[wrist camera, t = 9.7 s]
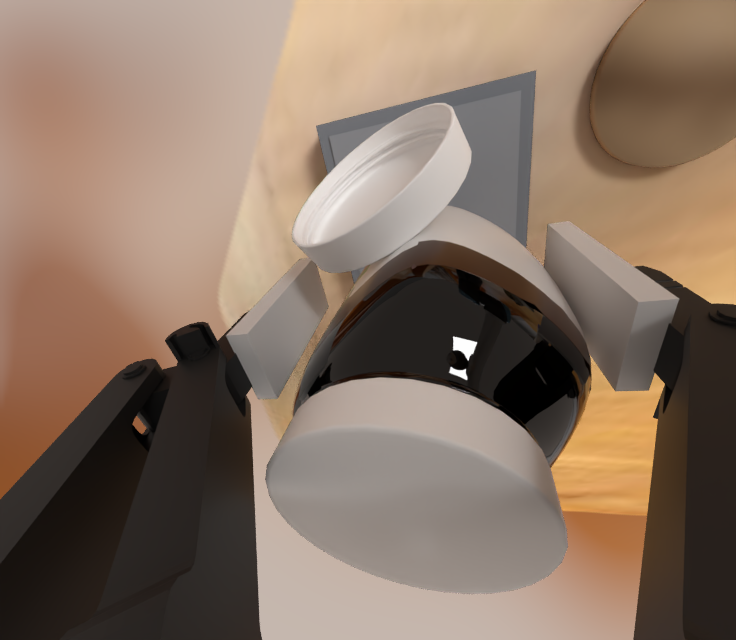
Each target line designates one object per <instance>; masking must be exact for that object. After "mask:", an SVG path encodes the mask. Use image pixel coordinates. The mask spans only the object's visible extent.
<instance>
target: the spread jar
mask: <svg viewBox="0 0 736 640" xmlns="http://www.w3.org/2000/svg"><path fill="white" fill-rule="evenodd" d="M471 153H472V151H471V149H470V146H469V144H468V142H467V140H466V137H465V135H464V133H463V130H462V128H461V126H460V124H459V121H458V119H457V117H456V115H455V112H454V110H453V108H452V106H450V105H448V104H446V103H434V104H429V105H425V106H423V107H420V108H417V109H415V110H412V111H411V112H409V113H407V114H405V115H403V116H401V117H399V118H397V119H396V120H394V121H392V122H391V123H389V124H387V125H386V126H384V127H383V128H382V129H380V130H379V131H377V132H376V133H374V134H373V135H372V136H370V137H369V138H368V139H366V140H365V141H364V142H363V143H361V144H360V145H359V146H358V147H357V148H355V149H354V150H353V151H352V152H351V153H349V154H348V155H347V156H346V157H345V158H344V159H343V160H342V161H341V162H340V163H339V164H338V165H337V166H336V167H335V168H334V169H333V170H332V171H331V172H330V173H329V174H328V175H327V176H326V177H325V178H324V179H323V180H322V182H321V183H320V184H319V185H318V186H317V187H316V189H315V190H314V191H313V193H312V194H311V195H310V196H309V198H308V199H307V201H306V202H305V204H304V205H303V207H302V208H301V210H300V212H299V214H298V216H297V217H296V220H295V223H294V225H293V229H292V239H293V242H294V243H295V244H296V245H297V246H298V247H299V248H300V249H301V250H302V251H303V252H304V253H305V254H306V255H307V256H308V257H309V258H310V259H311V260H312V261H313V262H314V263H315V264H316V265H317V266H318V267H319V268H320V269H321V270H324V271H326V272H329V273H344V272H349V271H353V270H357V269H360V268H362V267H365V268H364V269H363V271H362V273H361V274H360V276H359V277H358V279H357V281H356V282H355V284H354V285H353V287H352V289H351V290H350V292H349V294H348V295H347V297H346V299H345V300H344V302H343V304H342V305H341V307H340V309H339V310H338V312H337V313H336V315H335V317H334V318H333V320H332V321H331V323H330V325H329V326H328V328H327V329H326V331H325V333H324V334H323V336H322V338H321V340H320V341H319V343H318V345H317V347H316V348H315V350H314V352H313V354H312V356H311V358H310V360H309V362H308V364H307V366H306V368H305V370H304V372H303V375H302V377H301V379H300V382H299V384H298V387H297V390H296V393H295V398H294V403H293V410H292V415H293V419H292V420H291V422H290V424H289V426H288V428H287V430H286V431H285V433H284V435H283V437H282V439H281V441H280V442H279V444H278V446H277V448H276V450H275V452H274V453H273V455H272V457H271V459H270V461H269V463H268V464H267V470H266V479H265V480H266V484H267V488H268V492H269V496H270V498H271V500H272V502H273V503H274V505H275V507H276V509H277V510H278V512H279V513H280V514H281V515H282V517H283V518H284V519H285V520H286V521H287V523H288V524H289V525H291V527H293V528H294V529H295V530H296V531H297V532H298V533H299V534H300V535H301V536H303V537H304V538H305V539H307V540H308V541H309V542H311V543H312V544H314V545H315V546H316V547H318V548H319V549H321V550H323V551H324V552H326V553H328V554H329V555H331V556H333V557H334V558H336V559H339V560H340V561H343V562H345V563H347V564H349V565H351V566H353V567H355V568H357V569H360V570H362V571H365V572H367V573H370V574H372V575H375V576H378V577H381V578H384V579H387V580H390V581H393V582H396V583H400V584H405V585H409V586H413V587H418V588H421V589H427V590H434V591H440V592H449V593H462V594H489V593H490V594H491V593H498V592H506V591H512V590H516V589H520V588H523V587H526V586H530V585H533V584H535V583H536V582H538V581H540V580H542V579H544V578H546V577H548V576H549V575H550V574H551V573H552V572H553V571H554V570H555V569H556V568H557V567H558V566H559V565H560V564H561V563H562V560H563V558H564V556H565V553H566V551H567V548H568V543H567V529H566V525H565V521H564V517H563V514H562V510H561V506H560V502H559V499H558V495H557V491H556V487H555V484H554V480H553V476H552V472H551V467H552V466H553V464H554V463H555V461H556V460H557V459H558V457H559V456H560V455H561V453H562V452H563V451H564V449H565V447H566V446H567V444H568V442H569V440H570V439H571V437H572V435H573V433H574V431H575V430H576V428H577V426H578V424H579V422H580V420H581V418H582V415H583V412H584V410H585V407H586V403H587V400H588V397H589V394H590V391H591V359H590V355H589V351H588V347H587V344H586V341H585V338H584V334H583V331H582V329H581V327H580V325H579V323H578V321H577V319H576V317H575V315H574V313H573V312H572V310H571V308H570V306H569V305H568V303H567V301H566V299H565V298H564V296H563V294H562V293H561V291H560V289H559V288H558V286H557V284H556V283H555V281H554V280H553V279H552V277H551V276H550V274H549V273H548V272H547V271H546V269H545V268H544V267H543V266H542V264H541V263H540V262H539V261H538V260H537V259H536V258H535V257H534V256H533V255H532V254H531V253H530V252H529V251H528V250H527V249H526V248H525V247H524V246H523V245H522V244H521V243H520V242H519V241H517V240H516V239H515V238H514V237H512V236H511V235H510V234H509V233H507V232H506V231H504V230H503V229H501V228H500V227H498V226H497V225H495V224H493V223H492V222H490V221H488V220H486V219H484V218H482V217H480V216H478V215H476V214H474V213H471V212H469V211H466V210H464V209H461V208H457V207H453V206H447V205H448V203H449V202H450V201H451V199H452V198H453V197H454V196H455V194H456V193H457V191H458V190H459V188H460V186H461V185H462V183H463V181H464V180H465V178H466V175H467V172H468V170H469V167H470V164H471Z"/></svg>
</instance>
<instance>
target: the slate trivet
mask: <svg viewBox="0 0 736 640" xmlns="http://www.w3.org/2000/svg"><path fill="white" fill-rule="evenodd" d="M535 79H536V71H532V72H528V73H524V74H520V75H516V76H512V77H508V78H504V79H500V80H496V81H492V82H488V83H484V84H480V85H476V86H472V87H468V88H464V89H460V90H456V91H452V92H448V93H444V94H440V95H437V96H433V97H429V98H425V99H421V100H417V101H413V102H409V103H405V104H401V105H397V106H393V107H389V108H385V109H381V110H377V111H373V112H369V113H365V114H361V115H357V116H353V117H349V118H345V119H341V120H337V121H333V122H329V123H326V124H322V125H318V126H316V128H317V132H318V136H319V140H320V144H321V148H322V153H323V157H324V161H325V165H326V169H327V173H328V174H329V173H330V172H331V171H332V170H333V169H334V168H335V167H336V166H337V165H338V164H339V163H340V162H341V161H342V160H343V159H344V158H345V157H346V156H347V155H348V154H349V153H351V152H352V151H353V150H354V149H355V148H357V147H358V146H359V145H360V144H361V143H363V142H364V141H365V140H366V139H368V138H369V137H370V136H372V135H373V134H374V133H376V132H377V131H379V130H380V129H382V128H383V127H384V126H386V125H387V124H389V123H391V122H392V121H394V120H396V119H397V118H399V117H401V116H403V115H405V114H407V113H409V112H411V111H412V110H415V109H417V108H420V107H423V106H425V105H429V104H434V103H446V104H448V105H450V106H452V108H453V110H454V112H455V115H456V117H457V119H458V121H459V124H460V126H461V128H462V130H463V133H464V135H465V137H466V140H467V142H468V144H469V146H470V149H471V151H472V153H471V164H470V167H469V170H468V172H467V175H466V178H465V180H464V181H463V183H462V185H461V186H460V188H459V190H458V191H457V193H456V194H455V196H454V197H453V198H452V199H451V201H450V202H449V203H448V205H447V206H453V207H457V208H461V209H464V210H466V211H469V212H471V213H474V214H476V215H478V216H480V217H482V218H484V219H486V220H488V221H490V222H492V223H493V224H495V225H497V226H498V227H500V228H501V229H503V230H504V231H506V232H507V233H509V234H510V235H511V236H512V237H514V238H515V239H516V240H517V241H519V242H520V243H521V244H522V245H523V246H524V247H525V248H526V241H527V223H528V205H529V187H530V169H531V151H532V133H533V115H534V97H535ZM364 268H365V267H362V268H360V269H357V270H353V271H351V273H352V277H353V281H354V284H355V282H356V281H357V279H358V277H359V276H360V274H361V273H362V271H363V269H364Z"/></svg>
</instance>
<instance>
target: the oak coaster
mask: <svg viewBox="0 0 736 640" xmlns="http://www.w3.org/2000/svg"><path fill="white" fill-rule="evenodd" d="M590 120H591V125H592V129H593V132H594V134H595V137H596V139H597V140H598V142H599V144H600V145H601V146H602V148H603V149H604V150H605V151H606V152H607V153H608V154H610V155H611V156H612V157H614V158H616V159H618V160H620V161H622V162H625V163H628V164H632V165H637V166H643V167H668V166H674V165H678V164H683V163H686V162H689V161H692V160H695V159H697V158H699V157H702V156H704V155H706V154H708V153H710V152H712V151H714V150H716V149H718V148H720V147H721V146H723V145H724V144H726V143H727V142H729V141H730V140H732V139H734V138H735V137H736V0H645V1H644V2H643V3H642V4H641V5H640V6H639V7H638V8H637V9H636V10H635V11H634V12H633V13H632V14H631V15H630V17H629V18H628V19H627V20H626V21H625V23H624V24H623V25H622V27H621V28H620V29H619V30H618V32H617V33H616V35H615V37H614V38H613V40H612V41H611V43H610V44H609V46H608V48H607V50H606V52H605V54H604V56H603V57H602V60H601V62H600V64H599V67H598V69H597V72H596V75H595V78H594V82H593V85H592V91H591V96H590Z"/></svg>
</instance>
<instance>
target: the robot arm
mask: <svg viewBox="0 0 736 640" xmlns="http://www.w3.org/2000/svg"><path fill="white" fill-rule="evenodd" d="M544 268H545V269H546V271H547V272H548V273H549V274H550V276H551V277H552V279H553V280H554V281H555V283H556V284H557V286H558V288H559V289H560V291H561V293H562V294H563V296H564V298H565V299H566V301H567V303H568V305H569V306H570V308H571V310H572V312H573V313H574V315H575V317H576V319H577V321H578V323H579V325H580V327H581V329H582V331H583V334H584V338H585V341H586V344H587V347H588V351H589V354H590V355H591V357H592V358H593V360H594V361H595V363H596V364H597V365H598V367H599V368H600V370H601V371H602V373H603V374H604V376H605V377H606V378H607V380H608V381H609V383H610V384H611V386H612V387H613V389H614V390H615V391H645V390H649V388H650V385H651V382H652V379H653V376H654V373H656V374H657V375H658V376H659V378H660V379H661V380H662V381H663V382H664V383H665V386H664V388H663V391H662V394H661V397H660V399H659V402H658V405H657V408H656V410H655V413H654V416H653V418H656V419H658V424H657V433H656V442H655V451H654V460H653V469H652V478H651V487H650V496H649V505H648V514H647V523H646V533H645V541H644V550H643V559H642V568H641V578H640V586H639V595H638V604H637V613H636V622H635V631H634V640H736V305H733V304H711V303H709V302H708V301H706V300H705V299H703V298H702V297H700V296H698V295H697V294H695V293H694V292H692V291H691V290H689V289H687V288H686V287H683V285H681V284H680V283H678V282H677V281H673V279H672V278H670V277H669V276H667V275H666V274H664V273H663V272H661V271H658V270H655V269H652V268H648V267H645V266H636V267H634V266H632V265H631V264H629V263H628V262H626V261H625V260H624V259H622V258H621V257H619V256H618V255H616V254H615V253H614V252H612V251H611V250H609V249H608V248H607V247H605V246H604V245H602V244H601V243H599V242H598V241H597V240H595V239H594V238H592V237H591V236H590V235H588V234H587V233H585V232H584V231H582V230H581V229H580V228H578V227H577V226H575V225H574V224H572V223H571V222H570V221H565V222H558V223H551V224H548V226H547V238H546V249H545V261H544ZM328 307H329V306H328V303H327V299H326V296H325V292H324V289H323V286H322V282H321V279H320V276H319V272H318V269H317V266H316V264H315V263H314V262H313V261H312V260H311V259H310V258H304V259H299V260H298V261H297V262H296V263H295V264H294V265H293V266H292V268H291V269H290V270H289V271H288V272H287V273H286V274H285V275H284V276H283V277H282V278H281V279H280V280H279V281H278V282H277V283H276V284H275V285H274V286H273V287H272V288H271V289H270V290H269V291H268V292H267V293H266V294H265V295H264V297H263V298H262V299H261V300H260V301H259V302H258V303H257V304H256V305H255V306H254V307H253V308H252V309H251V310H250V311H248V312H247V313H245V314H244V315H243V316H242V317H241V318H240V319H239V320H238V321H237V323H235V324H234V325H233V326H232V328H230V329H229V330H228V331H227V332H226V333H225V334H224V335H223V336H222V337H221V338H220V339H219V340H218V341H217V340H216V338H215V336H214V334H213V332H212V330H211V328H210V326H209V325H208V323H205V322H197V323H194V324H189V325H187V326H184V327H182V328H180V329H178V330H176V331H175V332H173V333H172V334H170V336H168V337H167V338H166V340H165V342H166V343H167V345H168V346H169V348H170V349H171V351H172V353H173V354H174V356H175V357H176V359H177V361H178V363H177V366H175V367H171V368H167V369H163V370H162V368H161V367H160V365H159V364H158V362H157V361H156V360H155V359H146V360H142V361H137V362H134V363H133V364H130V365H128V366H127V367H126V368H125V369H123V370H122V371H120V372H119V373H118V374H117V375H116V376H115V377H114V378H113V379H112V380H111V381H110V382H109V383H108V384H107V385H106V386H105V387H104V389H103V390H102V391H101V392H100V393H99V394H98V395H97V396H96V397H95V398H94V399H93V400H92V401H91V403H90V404H89V405H88V406H87V407H86V408H85V409H84V410H83V411H82V412H81V413H80V415H79V416H77V418H76V419H75V420H74V421H73V422H72V423H71V424H70V425H69V426H68V427H67V429H65V430H64V432H63V433H62V434H61V435H60V436H59V437H58V438H57V439H56V440H55V441H54V443H52V445H51V446H50V447H49V448H48V449H47V450H46V451H45V452H44V453H43V454H42V456H40V458H39V459H38V460H37V461H36V462H35V463H34V464H33V465H32V466H31V467H30V468H29V469H28V470H27V471H26V473H25V474H24V475H23V476H22V477H21V478H20V479H19V480H18V481H17V482H16V483H15V485H13V487H12V488H11V489H10V490H9V491H8V492H7V493H6V494H5V495H4V496H3V497H2V499H0V640H262V637H261V632H260V623H259V603H258V602H259V601H258V577H257V554H256V553H257V552H256V528H255V504H254V479H253V457H252V429H251V405H250V402H249V400H248V398H247V396H246V394H247V393H248V392H249V390H250V389H251V387H252V388H253V390H254V392H255V394H256V396H257V398H258V399H278V397H279V395H280V393H281V391H282V390H283V388H284V386H285V384H286V382H287V381H288V379H289V377H290V375H291V373H292V372H293V370H294V368H295V366H296V364H297V363H298V361H299V359H300V357H301V355H302V354H303V352H304V350H305V348H306V346H307V345H308V343H309V341H310V339H311V337H312V336H313V334H314V332H315V330H316V328H317V327H318V325H319V323H320V321H321V319H322V318H323V316H324V314H325V312H326V310H327V309H328ZM136 416H138V418H139V419H140V420H141V421H142V423H143V424H144V425H145V426H146V428H147V429H146V430H145V432H144V433H143V434H141V433H139V432H138V431H137V430H136V429H135V427H134V426H133V425H132V423H133V421H134V418H135V417H136Z"/></svg>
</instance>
